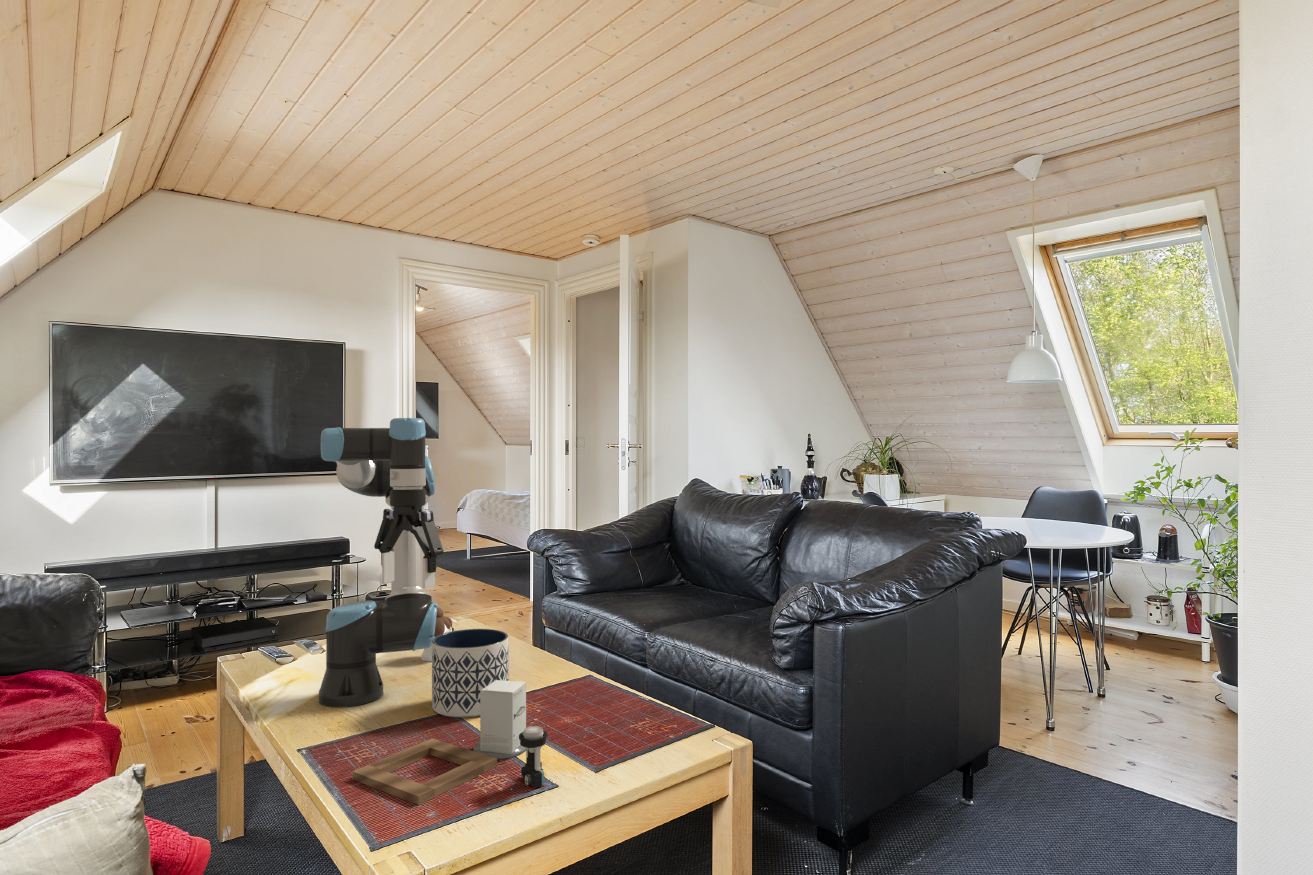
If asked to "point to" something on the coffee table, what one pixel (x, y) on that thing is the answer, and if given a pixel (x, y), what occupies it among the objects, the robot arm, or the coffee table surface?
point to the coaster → (500, 755)
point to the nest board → (420, 793)
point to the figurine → (438, 632)
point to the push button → (533, 755)
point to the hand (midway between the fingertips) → (408, 584)
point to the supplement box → (502, 716)
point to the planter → (466, 669)
